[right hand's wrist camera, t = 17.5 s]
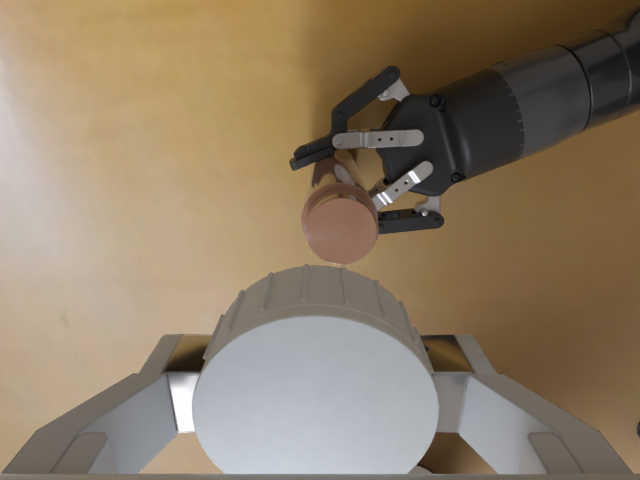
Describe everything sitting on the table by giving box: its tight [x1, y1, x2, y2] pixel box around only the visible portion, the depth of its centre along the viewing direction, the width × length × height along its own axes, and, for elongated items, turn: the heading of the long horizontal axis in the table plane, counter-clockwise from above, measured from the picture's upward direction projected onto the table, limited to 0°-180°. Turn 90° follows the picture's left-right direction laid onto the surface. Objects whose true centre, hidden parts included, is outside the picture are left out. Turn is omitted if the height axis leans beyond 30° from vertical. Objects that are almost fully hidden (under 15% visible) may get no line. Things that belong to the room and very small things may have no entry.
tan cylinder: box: [301, 149, 379, 265], centre depth 30 cm, size 4×4×19 cm
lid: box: [192, 264, 439, 474], centre depth 10 cm, size 6×6×2 cm
